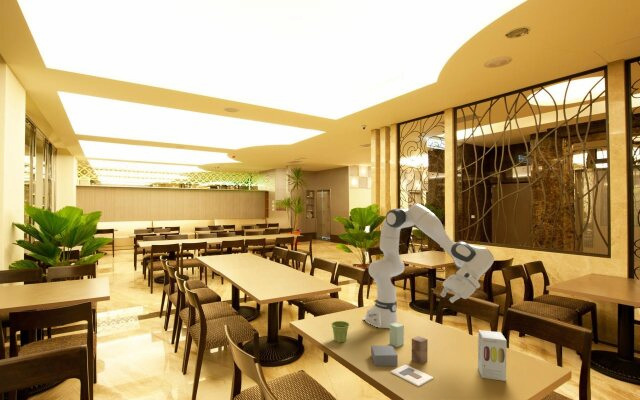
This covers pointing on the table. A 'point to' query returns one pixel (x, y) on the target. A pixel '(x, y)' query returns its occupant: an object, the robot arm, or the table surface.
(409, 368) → the card
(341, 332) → the plant pot
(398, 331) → the sage block
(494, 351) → the supplement box
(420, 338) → the walnut block
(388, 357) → the charcoal base block
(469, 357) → the table surface
